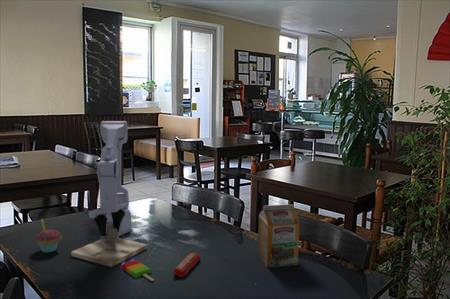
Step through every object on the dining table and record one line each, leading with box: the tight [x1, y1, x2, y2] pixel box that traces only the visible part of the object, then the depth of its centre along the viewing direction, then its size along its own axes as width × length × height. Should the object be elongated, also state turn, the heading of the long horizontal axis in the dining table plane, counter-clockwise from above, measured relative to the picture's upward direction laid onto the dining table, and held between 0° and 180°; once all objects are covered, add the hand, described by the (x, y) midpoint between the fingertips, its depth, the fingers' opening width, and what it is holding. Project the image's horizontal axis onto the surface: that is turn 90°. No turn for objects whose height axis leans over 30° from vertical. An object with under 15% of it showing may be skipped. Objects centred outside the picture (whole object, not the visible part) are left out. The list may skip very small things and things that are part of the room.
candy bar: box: [173, 252, 201, 278], centre depth 133 cm, size 16×4×3 cm, turn 162°
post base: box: [71, 237, 148, 268], centre depth 144 cm, size 18×18×4 cm
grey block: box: [100, 222, 120, 243], centre depth 144 cm, size 8×6×5 cm
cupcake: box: [34, 217, 63, 253], centre depth 145 cm, size 9×8×12 cm
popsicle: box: [121, 259, 155, 282], centre depth 128 cm, size 6×15×2 cm, turn 41°
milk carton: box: [257, 203, 300, 268], centre depth 138 cm, size 11×11×19 cm
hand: (109, 233), depth 144 cm, fingers closed on grey block, 5 cm apart
